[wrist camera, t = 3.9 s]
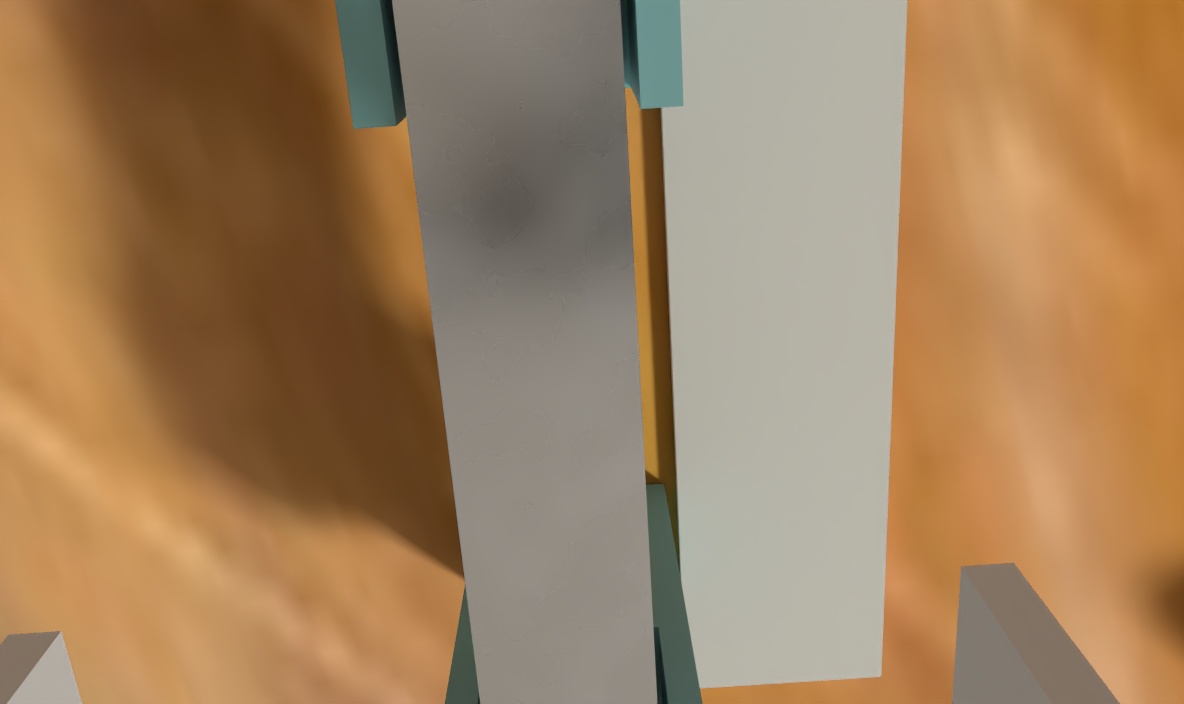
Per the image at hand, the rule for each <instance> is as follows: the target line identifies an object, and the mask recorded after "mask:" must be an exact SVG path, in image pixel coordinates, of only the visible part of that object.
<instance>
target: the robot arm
mask: <svg viewBox="0 0 1184 704" xmlns="http://www.w3.org/2000/svg"><path fill="white" fill-rule="evenodd" d="M0 704H82V702H81V699H80V695H79V692H78V688H77V685H76V681H75V678H74V674H73V671H72V667H71V664H70V660H69V657H68V653H67V650H66V646H65V643H64V639H63V636H62V632H61V631H57V632H43V633H29V634H15V635H8V636H7V637H6V639H5V640H4V641H3V642H2V643H1V645H0ZM952 704H1120V703H1119V702H1118V701H1117V699H1116V698H1115V697H1114V695H1113V694H1112V693H1111V691H1110V690H1109V689H1108V687H1107V686H1106V685H1105V683H1104V682H1103V681H1102V679H1101V678H1100V677H1099V675H1098V674H1097V673H1096V671H1095V670H1094V669H1093V667H1092V666H1091V665H1090V663H1089V662H1088V661H1087V659H1086V658H1085V657H1084V655H1083V654H1082V653H1081V652H1080V650H1079V649H1078V648H1077V646H1076V645H1075V644H1074V642H1073V641H1072V640H1071V638H1070V637H1069V636H1068V634H1067V633H1066V632H1065V630H1064V629H1063V628H1062V626H1061V625H1060V624H1059V622H1058V621H1057V620H1056V618H1055V617H1054V616H1053V614H1052V613H1051V612H1050V610H1049V609H1048V608H1047V606H1046V605H1045V604H1044V602H1043V601H1042V600H1041V598H1040V597H1039V596H1038V594H1037V593H1036V592H1035V591H1034V589H1033V588H1032V587H1031V585H1030V584H1029V583H1028V581H1027V580H1026V579H1025V577H1024V576H1023V575H1022V573H1021V572H1020V571H1019V569H1018V568H1017V567H1016V565H1015V564H1014V563H1005V564H991V565H977V566H963V567H961V579H960V594H959V609H958V624H957V639H956V654H955V669H954V684H953V699H952Z"/></svg>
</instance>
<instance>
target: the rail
mask: <svg viewBox="0 0 1184 704" xmlns="http://www.w3.org/2000/svg"><path fill="white" fill-rule="evenodd" d="M392 4H393V12H394V20H395V28H396V36H397V44H398V52H399V60H400V68H401V76H402V84H403V92H404V100H405V108H406V116H407V124H408V132H409V140H410V148H411V156H412V164H413V171H414V179H415V187H416V195H417V203H418V211H419V219H420V227H421V235H422V243H423V251H424V259H425V267H426V275H427V283H428V291H429V299H430V307H431V315H432V323H433V331H434V339H435V347H436V354H437V362H438V370H439V378H440V386H441V394H442V402H443V410H444V418H445V426H446V434H447V442H448V450H449V458H450V466H451V474H452V482H453V490H454V498H455V506H456V514H457V522H458V530H459V538H460V545H461V553H462V561H463V569H464V577H465V585H466V593H467V601H468V609H469V617H470V625H471V633H472V641H473V649H474V657H475V665H476V673H477V681H478V689H479V697H480V704H657V686H656V667H655V648H654V630H653V611H652V592H651V573H650V554H649V535H648V516H647V497H646V479H645V460H644V441H643V422H642V403H641V384H640V365H639V346H638V327H637V309H636V290H635V271H634V252H633V233H632V214H631V195H630V176H629V157H628V139H627V120H626V101H625V82H624V63H623V44H622V25H621V6H620V0H392Z"/></svg>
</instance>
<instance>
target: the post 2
mask: <svg viewBox="0 0 1184 704" xmlns="http://www.w3.org/2000/svg"><path fill="white" fill-rule="evenodd" d="M646 497H647V516H648V535H649V554H650V573H651V592H652V611H653V630H654V648H655V667H656V686H657V704H702V698H701V693H700V687H699V681H698V675H697V670H696V664H695V658H694V653H693V647H692V641H691V635H690V630H689V624H688V618H687V612H686V607H685V601H684V595H683V589H682V584H681V578H680V572H679V566H678V561H677V555H676V549H675V543H674V538H673V532H672V526H671V520H670V515H669V509H668V503H667V497H666V492H665V486H664V484H649V485H646ZM445 704H480V697H479V689H478V681H477V673H476V665H475V657H474V649H473V641H472V633H471V625H470V617H469V609H468V601H467V593H466V585H465V589H464V595H463V600H462V606H461V612H460V618H459V624H458V630H457V636H456V641H455V647H454V653H453V659H452V665H451V671H450V676H449V682H448V688H447V694H446V700H445Z"/></svg>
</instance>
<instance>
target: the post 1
mask: <svg viewBox="0 0 1184 704" xmlns="http://www.w3.org/2000/svg"><path fill="white" fill-rule="evenodd" d="M335 3H336V10H337V17H338V24H339V31H340V38H341V45H342V51H343V58H344V65H345V72H346V79H347V86H348V93H349V100H350V107H351V114H352V121H353V128H354V129H358V128H372V127H387V126H396V125H398V124H399V123H400V122H401V121H402V120H403V119H404V118H405V117H406V108H405V100H404V92H403V84H402V76H401V68H400V60H399V52H398V44H397V36H396V28H395V20H394V12H393V4H392V0H335ZM620 6H621V25H622V44H623V63H624V82H625V88H629V87H631V88H632V90H633V93H634V95H635V97H636V99H637V101H638V104H639V106H640V108H641V109H649V108H663V107H678V106H684V104H683V75H682V45H681V16H680V0H620Z"/></svg>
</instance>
